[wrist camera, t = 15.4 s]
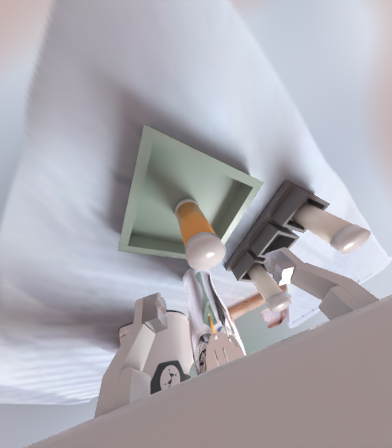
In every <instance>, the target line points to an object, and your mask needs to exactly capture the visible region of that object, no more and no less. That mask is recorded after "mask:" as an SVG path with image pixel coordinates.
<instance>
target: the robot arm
mask: <svg viewBox="0 0 392 448" xmlns="http://www.w3.org/2000/svg"><path fill="white" fill-rule="evenodd" d="M264 257H265V258H266V259H265V260H264V266H265V268H266V270H267V271H268V272H269V273H270V274H272V275H273V279H274V280H275V281H276V282H277V283H278V285H279V286H280V285H283V284H286V283H289V282H290V283H292V284H294V285H295V286H297V287H299V288H301V289H302V290H304V291H306V292H308V293H310V294H311V295H313V296H315V297H317V298H319V299H320V300H322V302H321V304H320V305H319V309H320V310H321V311H322V312H323V313H324V314H325V315H326V316H327V317H328V319H329V321H327V322H325V323H322V324H320V325H318V326H315V327H313V328H310V329H308V330H305V331H303V332H301V333H298V334H296V335H293V336H291V337H288V338H286V339H284V340H281V341H279V342H276V343H274V344H272V345H269V346H267V347H265V348H262V349H260V350H257V351H255V352H252V353H250V354H248V355H245V356H243V357H240V358H238V359H236V360H233V361H231V362H228V363H226V364H224V365H221V366H219V367H216V368H214V369H211V370H209V371H207V372H204V373H202V374H199V375H197V376H195V377H192V378H191V377H190V376H189V370H190V367H191V366H192V363H193V354H192V349H191V342H190V334H189V320H188V319H187V317H186V316H185V315H183V314H181V313H178V312H166V303H165V300H164V298H163V297H161V294H160V293H159V292H158V293H155V294H152V295H149V296H146V297H143V298H141V299H138V300H137V301H136V304H135V313H134V321H133V324H130V325H127V326H124V327H122V328H120V330H119V337H120V345H121V346H120V348H119V350H118V351H117V353H116V355H115V357H114V358H113V360H112V362H111V364H110V365H109V367H108V369H107V371H106V372H105V374H104V376H103V379H102V384H101V389H100V393H99V398H98V403H97V407H96V412H95V417H94V419H91V420H89V421H86V422H84V423H82V424H79V425H77V426H74V427H72V428H70V429H67V430H65V431H62V432H60V433H57V434H55V435H53V436H50V437H48V438H46V439H43V440H41V441H38V442H36V443H33V444H32V445H29V446H26V447H24V448H392V295H390V296H387V297H385V298H382V299H380V300H379V299H377V298H376V297H374V296H373V295H372V294H371V293H369V292H368V291H367V290H365V289H364V288H363V287H361V286H360V285H359V284H357V283H356V282H355V281H353V280H352V279H350V278H347V277H344V276H341V275H339V274H336V273H333V272H330V271H328V270H325V269H322V268H319V267H317V266H314V265H311V264H308V263H303V262H302V261H301V260H300V259H299V258H298V257H296V256H295V255H294V254H293V253H292V252H291V251H289V250H288V249H287V248H285V247H283V248H280V249H277V250H274V251H272V252H269V253H266V254H265V256H264Z"/></svg>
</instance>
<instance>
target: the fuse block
mask: <svg viewBox="0 0 392 448" xmlns="http://www.w3.org/2000/svg"><path fill="white" fill-rule="evenodd" d="M305 201H306V202H308V203H309V204H311V205H313V206H315V207H317V208H319V209H322V210H325V209H326V208H327V207H328V206H329V205H330V204H329V203H327V202H326V201H324V200H322V199H320V198H319V197H317V196H315V195H314V194H312V193H310V192H308V191H306V190H304V189H303V188H301V187H299V186H297V185H295V184H293V183H292V182H289V181H287V180H285V181H284V183H283V184H282V186H281V187H280V188H279V190H278V191H277V193H276V194H275V196H274V197H273V198H272V200H271V201H270V203H269V204H268V206H267V207H266V208H265V210H264V211H263V213H262V214H261V216H260V217H259V218H258V220H257V221H256V223H255V224H254V226H253V227H252V228H251V230H250V231H249V233H248V234H247V235H246V237H245V238H244V240H243V241H242V243H241V244H240V245H239V247H238V248H237V250H236V251H235V253H234V254H233V255H232V257H231V258H230V260H229V261H228V263H227V264H226V265H225V269H226V271H232V272H233V273H234V275H235V277H236V279H237V281H248V282H252V280H251V279H250V277H249V275H248V274H247V271H248V270H249V269H250V268H251V266H252V265H253V264H254V263H260V264H261V265H262V266H263V267H264V269H265V270H266V268H265V266H264V260H265V259H266V258H265V257H264V256H265V254H266V253H269V252H272V251H274V250H277V249H280V248H283V247H285V248H287V249H289V248H290V247H291V246H292V245H293V244H294V243H295V242H296V241H297V239H298V238H299V236H297V235H296V234H294V233H293V232H292V230H295V231H299V232H302V233H304V232H305V231H306V230H307V229H306V228H304V227H303V226H301V225H300V224H298V223H297V222H295V221H293V220H291V218H292V216H293V215H294V214H295V213H296V211H297V210H298V209H299V208H300V207H301V205H302V204H303V203H304V202H305ZM266 271H267V270H266ZM267 272H268V271H267Z"/></svg>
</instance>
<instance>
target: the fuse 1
mask: <svg viewBox="0 0 392 448" xmlns="http://www.w3.org/2000/svg"><path fill="white" fill-rule="evenodd" d="M247 274H248V275H249V277H250V279H251V280H252V282H253V283H254V285H255V286H256V288H257V289H258V291H259V293H260V294H261V296H262V297H263V299H264V300H265V302H266V304H267V306H268V308H269V309H270V311H271V312H272V313H276V312H279V311H282V310H284V309H285V308H287V307H288V306H289V305H290V304H291V301H290V299H289V298H288V297H287V296H286V294H285V293H283V292H282V290H281V289H280V288H279V286H278V285H277V284H276V283H275V281H274V280H273V279H272V278H271V276H270V275H269V274H268V273H267V271H266V270H265V269H264V267H263V266H262V265H261V264H260V263H254V264H253V265H252V266H251V268H250V269H249V270H248V271H247Z"/></svg>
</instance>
